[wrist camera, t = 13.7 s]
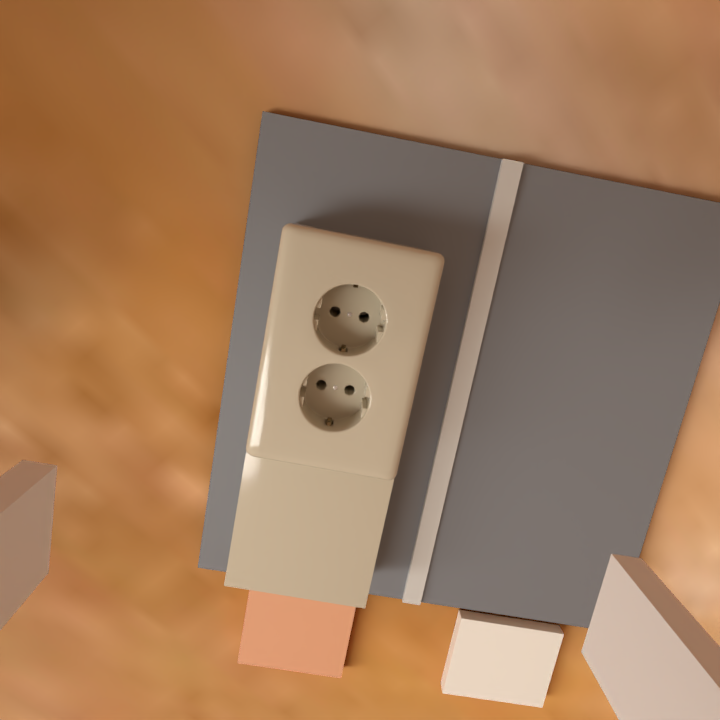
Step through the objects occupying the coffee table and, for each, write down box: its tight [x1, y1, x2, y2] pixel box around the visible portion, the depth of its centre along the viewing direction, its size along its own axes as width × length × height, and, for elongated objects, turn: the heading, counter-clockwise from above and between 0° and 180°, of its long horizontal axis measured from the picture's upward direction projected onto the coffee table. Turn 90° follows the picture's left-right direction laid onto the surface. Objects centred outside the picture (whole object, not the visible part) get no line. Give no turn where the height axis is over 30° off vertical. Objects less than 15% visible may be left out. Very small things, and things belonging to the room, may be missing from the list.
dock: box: [198, 111, 720, 708], centre depth 32 cm, size 24×30×1 cm
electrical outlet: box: [224, 223, 445, 608], centre depth 29 cm, size 7×4×18 cm
